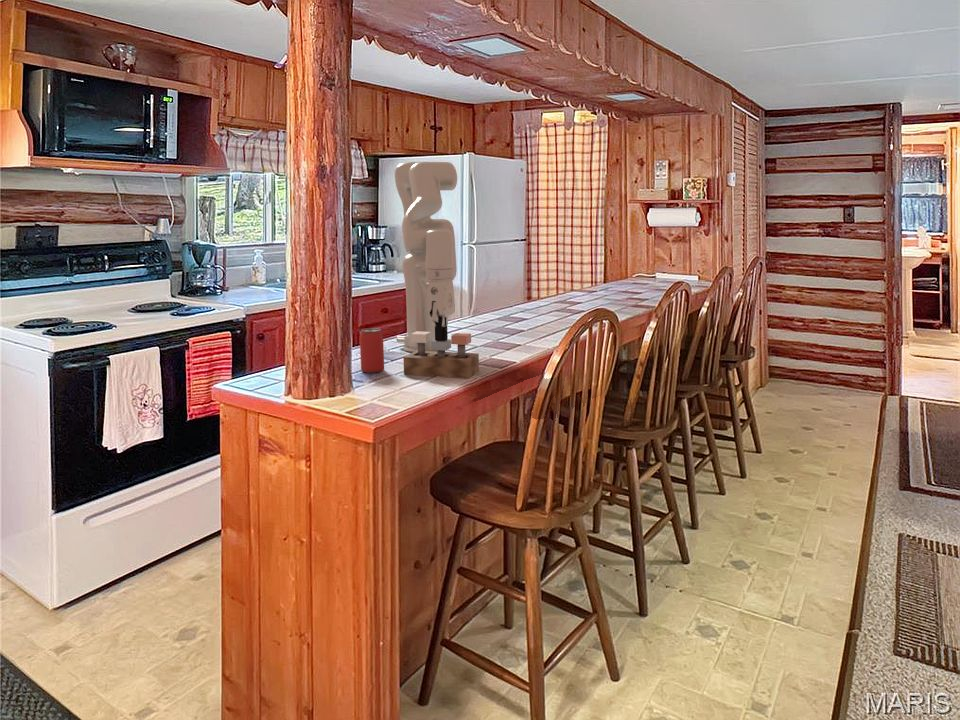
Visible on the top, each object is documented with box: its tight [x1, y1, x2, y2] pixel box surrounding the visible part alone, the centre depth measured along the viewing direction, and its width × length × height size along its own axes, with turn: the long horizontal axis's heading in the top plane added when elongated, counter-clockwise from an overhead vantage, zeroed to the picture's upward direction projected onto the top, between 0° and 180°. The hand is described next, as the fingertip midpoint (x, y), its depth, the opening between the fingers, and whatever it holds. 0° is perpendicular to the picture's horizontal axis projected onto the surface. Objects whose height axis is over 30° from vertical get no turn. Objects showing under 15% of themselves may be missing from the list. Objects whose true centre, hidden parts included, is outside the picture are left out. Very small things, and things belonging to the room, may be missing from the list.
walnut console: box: [403, 350, 480, 379], centre depth 203 cm, size 19×10×5 cm, turn 73°
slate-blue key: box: [431, 338, 452, 357], centre depth 203 cm, size 4×4×7 cm
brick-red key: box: [450, 332, 472, 358], centre depth 201 cm, size 4×4×7 cm
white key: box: [411, 331, 431, 356], centre depth 204 cm, size 4×4×7 cm
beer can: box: [359, 327, 385, 374], centre depth 205 cm, size 7×7×12 cm
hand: (441, 340), depth 202 cm, fingers closed
